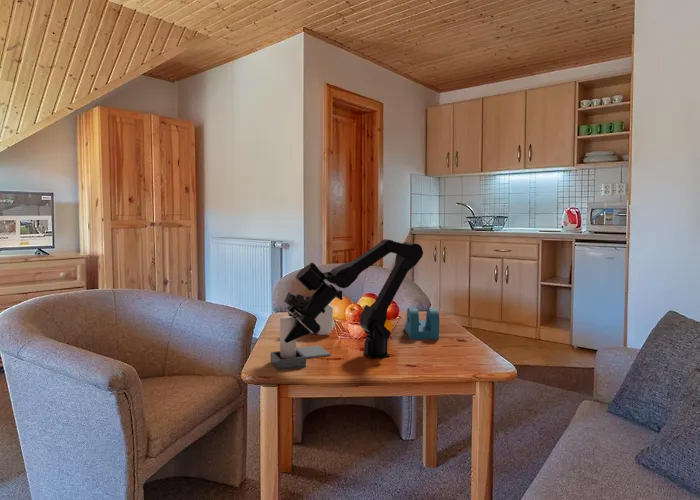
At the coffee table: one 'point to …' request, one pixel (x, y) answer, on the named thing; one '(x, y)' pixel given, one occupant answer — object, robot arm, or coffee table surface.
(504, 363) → the coffee table surface
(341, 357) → the coffee table surface
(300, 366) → the grey square tray
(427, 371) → the coffee table surface
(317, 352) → the slate mat
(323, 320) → the cable organizer
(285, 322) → the white plug
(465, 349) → the coffee table surface
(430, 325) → the camera mount
